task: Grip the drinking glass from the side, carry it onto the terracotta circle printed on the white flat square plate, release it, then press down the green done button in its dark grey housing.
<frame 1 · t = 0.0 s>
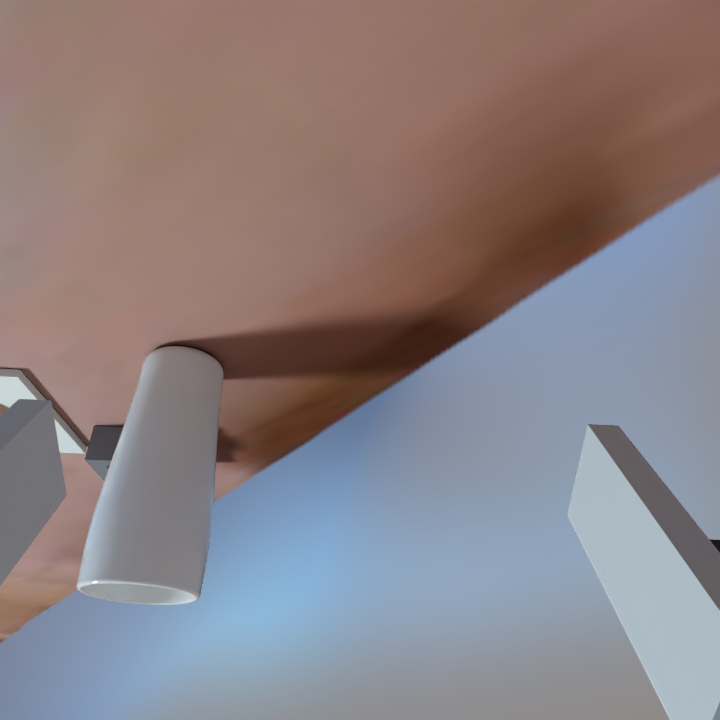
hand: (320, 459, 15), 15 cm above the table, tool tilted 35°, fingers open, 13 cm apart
button housing: (151, 445, 55), on the table
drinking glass: (186, 360, 42), on the table
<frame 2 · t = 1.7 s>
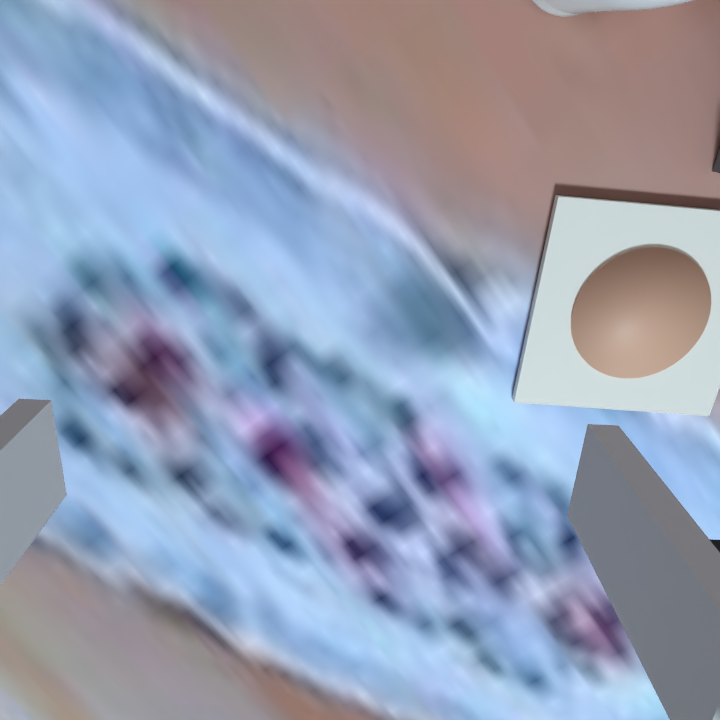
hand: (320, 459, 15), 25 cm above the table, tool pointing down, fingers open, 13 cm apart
white flat square plate: (635, 312, 41), on the table
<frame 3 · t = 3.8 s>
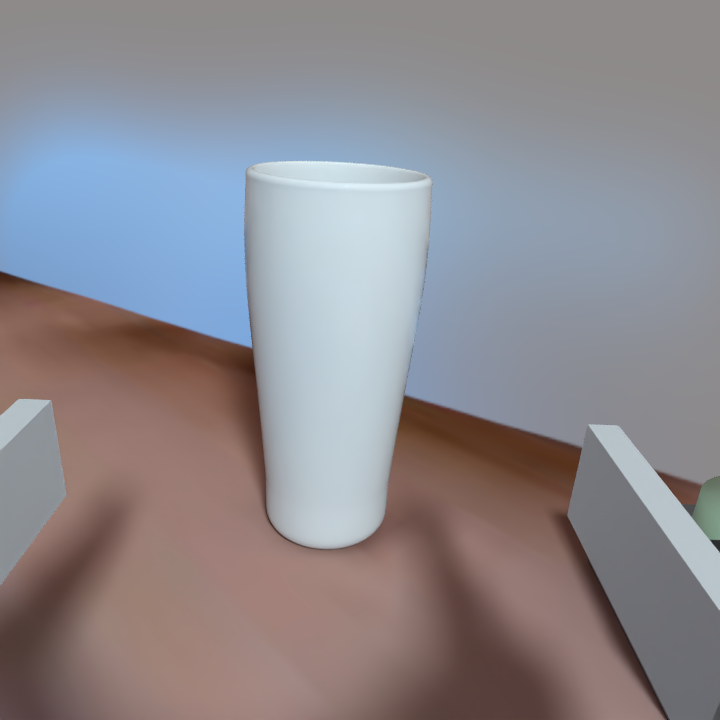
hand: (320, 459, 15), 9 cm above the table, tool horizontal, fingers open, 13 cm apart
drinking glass: (325, 519, 28), on the table
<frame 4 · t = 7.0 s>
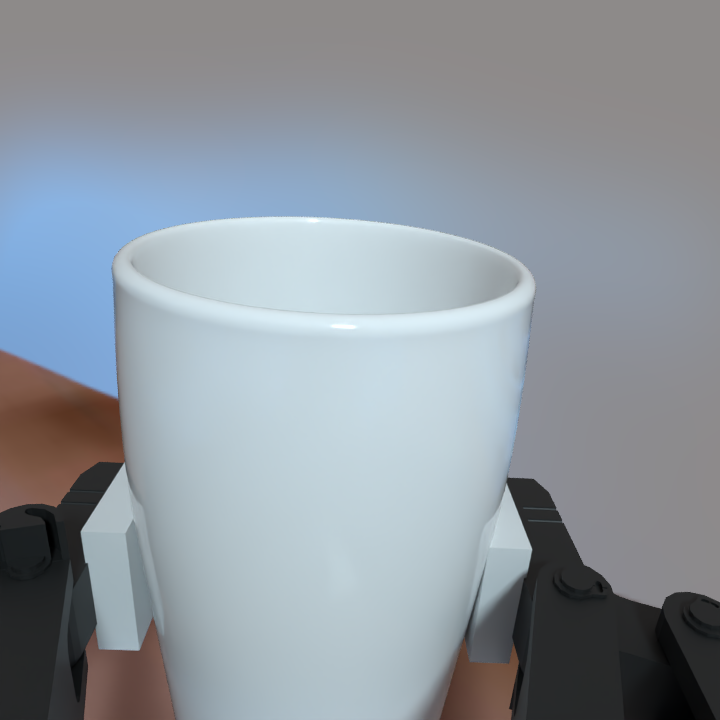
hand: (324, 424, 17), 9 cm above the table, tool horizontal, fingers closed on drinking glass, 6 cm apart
when the fingers open (11 cm above the table, at t = 11.4 s): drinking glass drops 1 cm, resting on white flat square plate.
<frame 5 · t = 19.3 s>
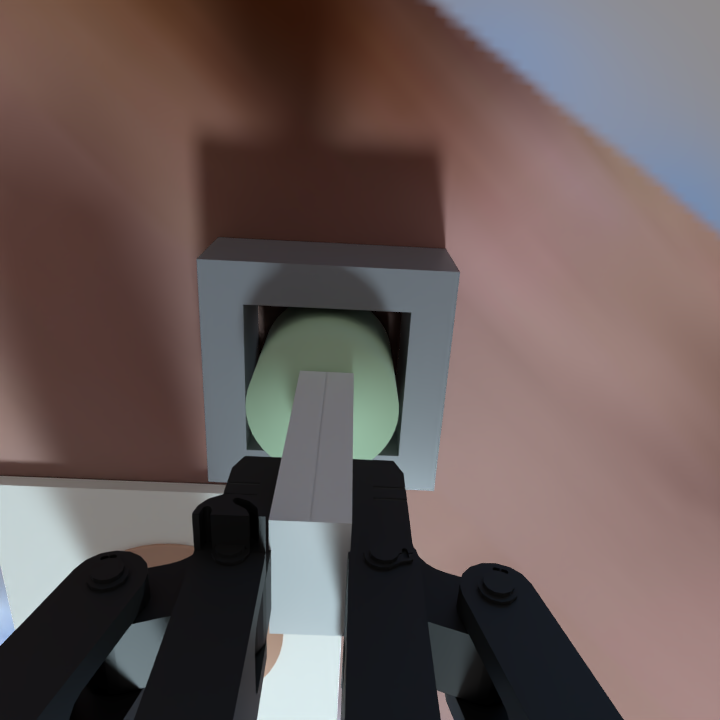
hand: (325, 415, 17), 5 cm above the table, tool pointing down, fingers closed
white flat square plate: (182, 616, 27), on the table
button housing: (328, 348, 22), on the table
done button: (325, 380, 19), point 3 cm above the table, slide at 0.8 cm, touching gripper
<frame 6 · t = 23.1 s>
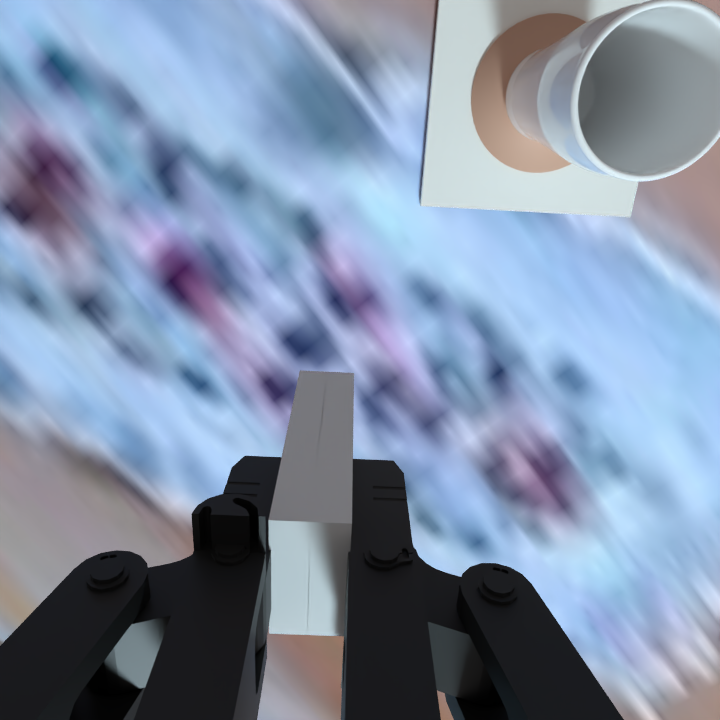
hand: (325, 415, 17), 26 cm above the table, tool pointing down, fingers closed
white flat square plate: (541, 96, 38), on the table
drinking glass: (545, 95, 38), point 1 cm above the table, touching white flat square plate
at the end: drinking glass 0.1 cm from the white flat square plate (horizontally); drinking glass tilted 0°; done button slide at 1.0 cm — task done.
